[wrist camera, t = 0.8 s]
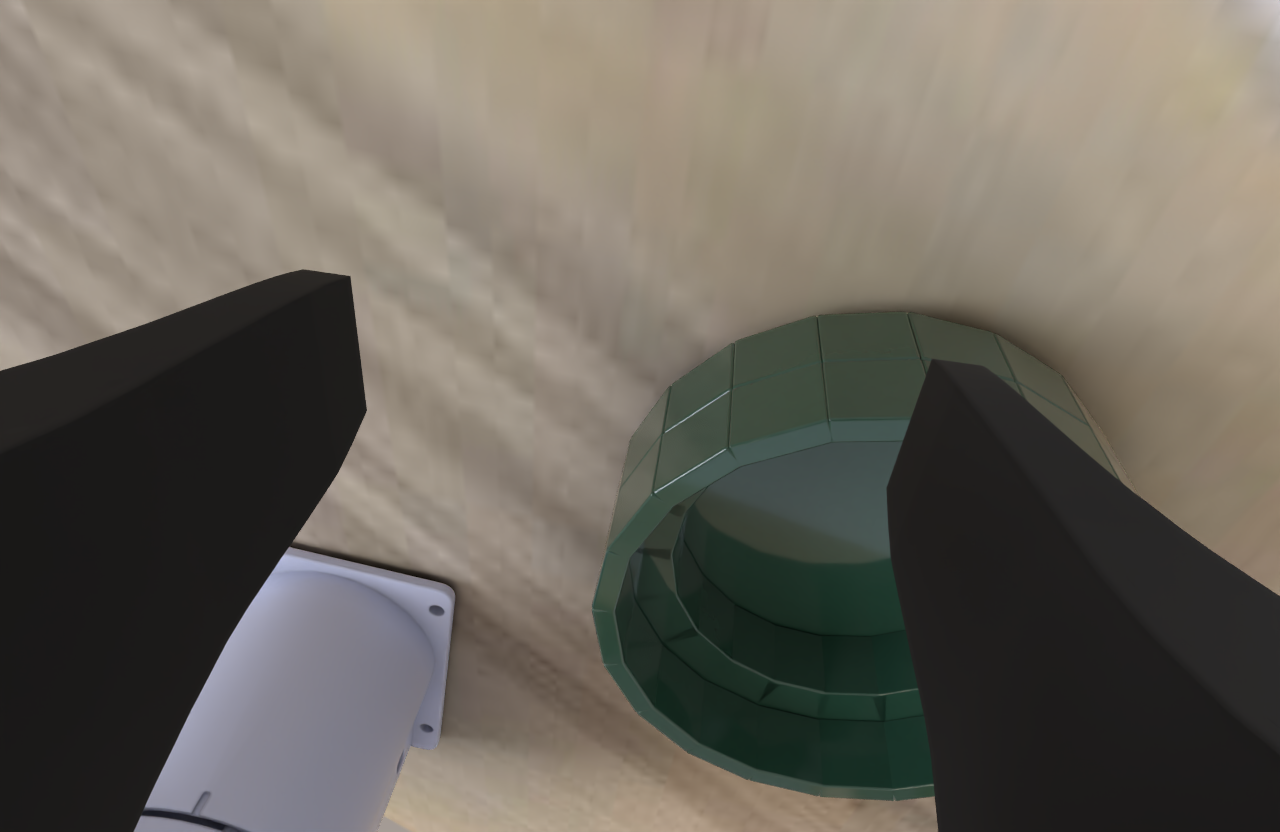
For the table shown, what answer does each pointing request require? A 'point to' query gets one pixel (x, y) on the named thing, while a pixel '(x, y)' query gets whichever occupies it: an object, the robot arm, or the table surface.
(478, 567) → the table surface
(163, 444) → the robot arm
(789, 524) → the bowl
